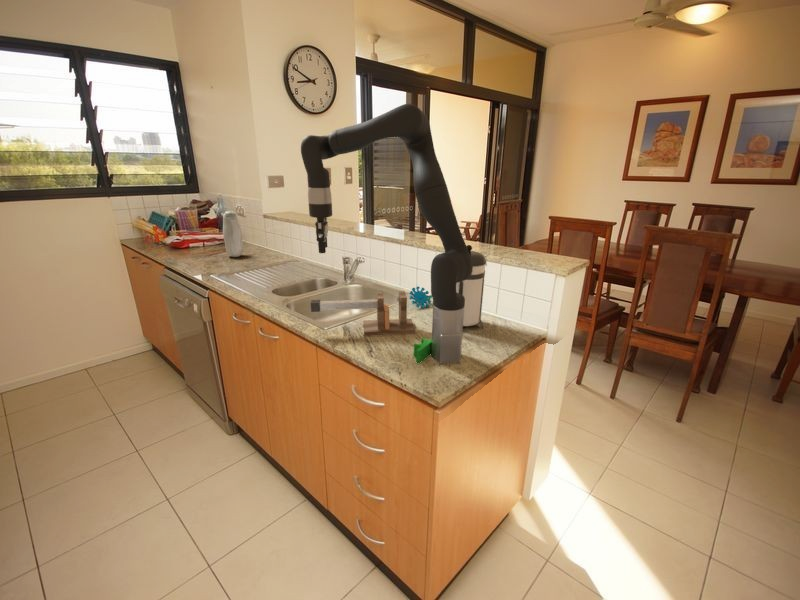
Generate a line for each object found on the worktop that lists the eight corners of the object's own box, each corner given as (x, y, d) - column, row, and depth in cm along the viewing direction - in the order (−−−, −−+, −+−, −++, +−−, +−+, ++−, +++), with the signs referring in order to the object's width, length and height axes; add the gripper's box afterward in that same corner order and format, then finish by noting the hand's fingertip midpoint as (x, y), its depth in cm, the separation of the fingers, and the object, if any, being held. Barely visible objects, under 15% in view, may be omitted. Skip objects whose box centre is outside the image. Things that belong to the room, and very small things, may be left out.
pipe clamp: (426, 347, 123) (427, 334, 122) (436, 350, 121) (437, 337, 120) (408, 360, 114) (408, 347, 113) (419, 364, 113) (419, 350, 111)
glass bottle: (245, 257, 232) (239, 211, 223) (227, 259, 228) (220, 212, 218) (243, 254, 240) (236, 209, 231) (225, 255, 236) (218, 210, 226)
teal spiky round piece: (413, 307, 151) (408, 285, 155) (407, 313, 156) (402, 292, 160) (436, 306, 156) (431, 285, 160) (430, 312, 161) (424, 292, 165)
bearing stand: (415, 333, 132) (416, 298, 127) (364, 336, 130) (363, 300, 125) (411, 322, 141) (411, 289, 137) (363, 324, 139) (362, 290, 135)
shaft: (377, 309, 131) (377, 301, 130) (311, 311, 128) (310, 303, 127) (377, 306, 134) (377, 297, 133) (312, 308, 131) (311, 299, 130)
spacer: (389, 329, 132) (389, 310, 129) (384, 329, 132) (384, 311, 129) (387, 321, 138) (387, 303, 136) (383, 321, 138) (383, 303, 136)
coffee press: (450, 313, 150) (454, 238, 140) (489, 321, 143) (496, 243, 132) (431, 328, 136) (434, 247, 126) (472, 338, 129) (479, 253, 118)
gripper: (330, 204, 117) (333, 254, 123) (332, 199, 130) (335, 245, 136) (305, 204, 116) (309, 255, 122) (310, 199, 129) (314, 245, 135)
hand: (323, 250), depth 129 cm, fingers open, 8 cm apart
